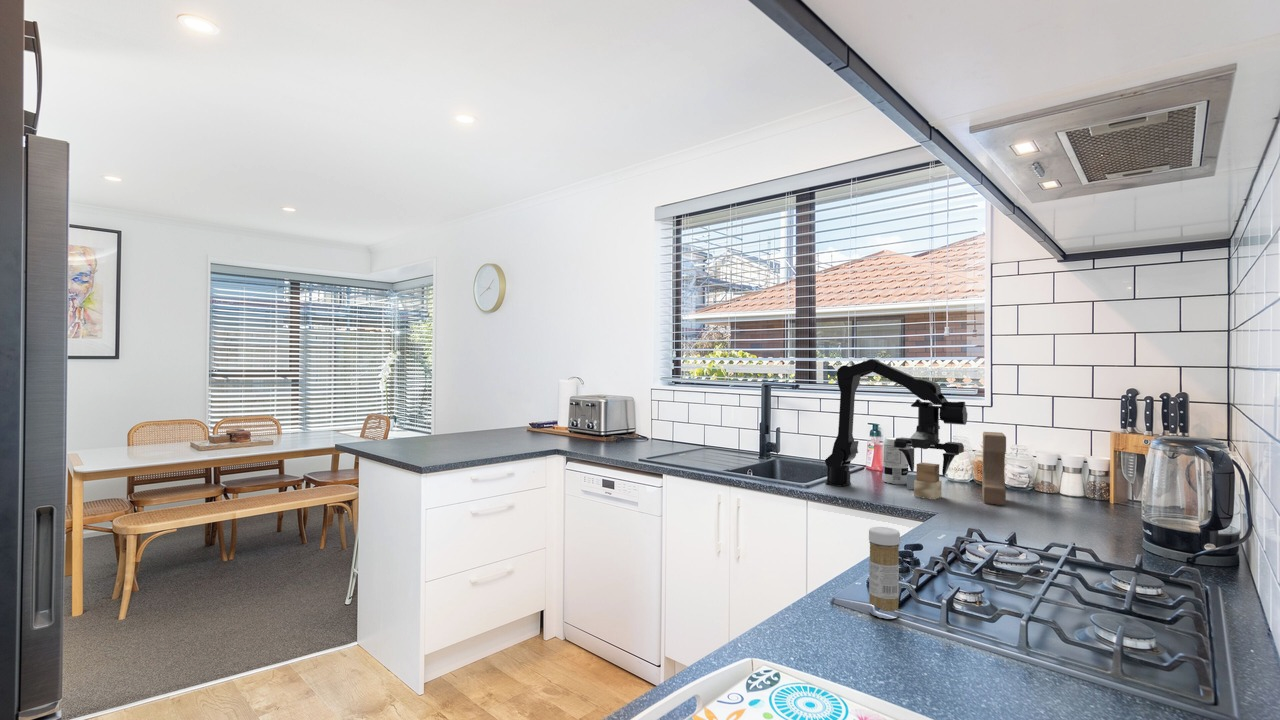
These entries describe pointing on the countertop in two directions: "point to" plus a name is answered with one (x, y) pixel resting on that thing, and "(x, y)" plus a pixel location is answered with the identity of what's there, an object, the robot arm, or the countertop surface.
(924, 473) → the walnut cube
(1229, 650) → the countertop surface
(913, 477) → the slate cube
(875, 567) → the sprinkles bottle
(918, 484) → the maple block
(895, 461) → the supplement can
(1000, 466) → the decorative block
